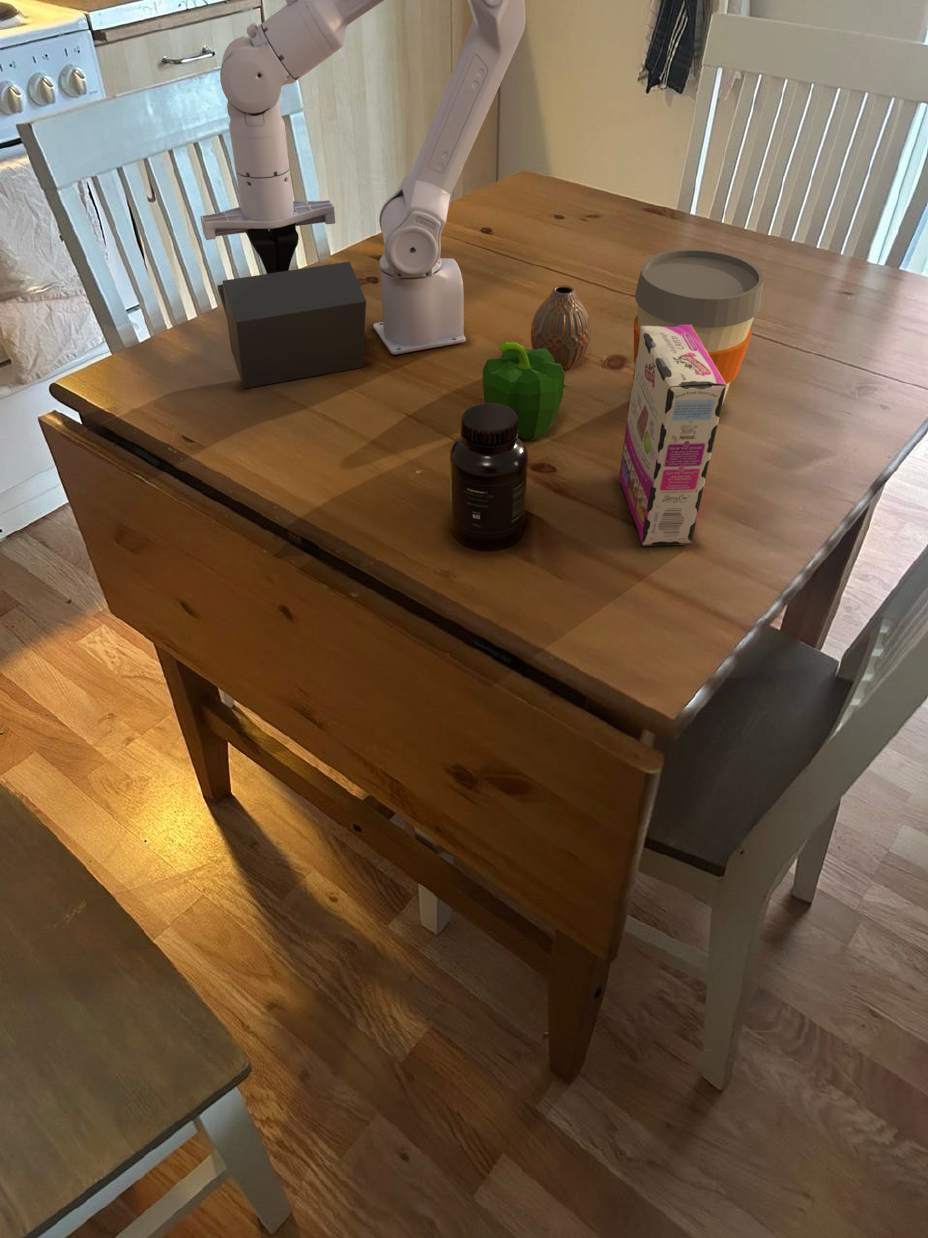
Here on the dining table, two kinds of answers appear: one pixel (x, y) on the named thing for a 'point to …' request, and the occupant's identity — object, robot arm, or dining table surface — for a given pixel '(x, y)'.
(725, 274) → the reusable coffee cup
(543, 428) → the bell pepper
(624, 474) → the candy bar box
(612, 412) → the dining table surface
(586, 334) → the vase
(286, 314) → the grey tool caddy
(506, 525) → the supplement bottle
